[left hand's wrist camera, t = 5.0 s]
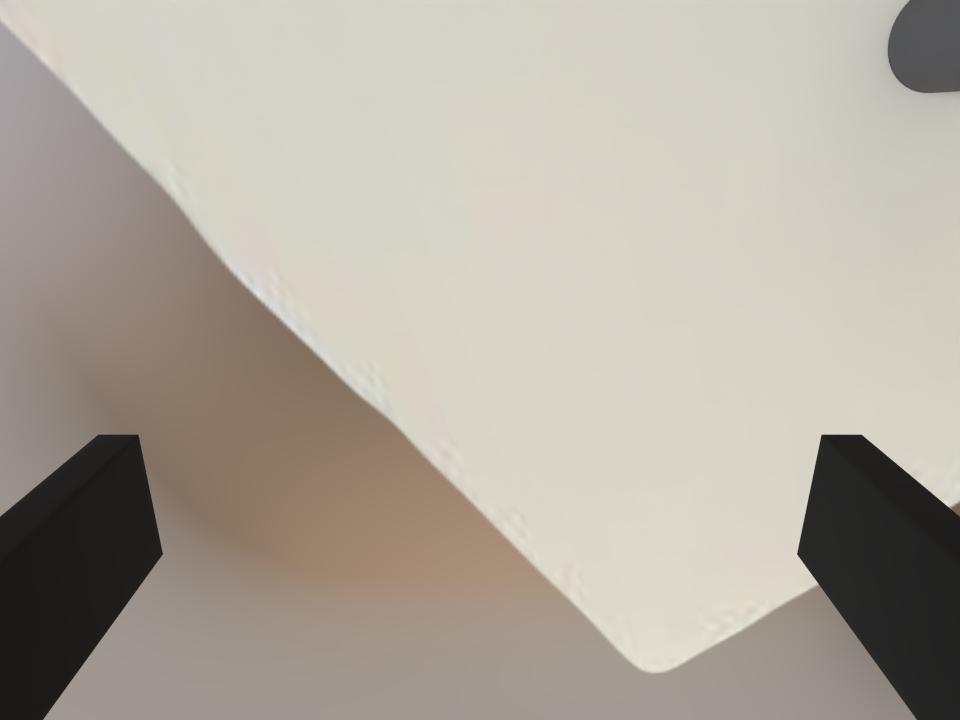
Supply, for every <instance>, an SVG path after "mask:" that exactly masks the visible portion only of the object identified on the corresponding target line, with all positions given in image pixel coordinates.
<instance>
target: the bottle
mask: <svg viewBox="0 0 960 720" xmlns="http://www.w3.org/2000/svg"><path fill="white" fill-rule="evenodd" d="M888 57H889V63H890V66H891V69H892V71H893V73H894V75H895V76H896V78H897V79H898V80H899V81H900V82H901V83H902V84H903V85H905V86H906V87H908V88H909V89H911V90H914V91H917V92H923V93H934V92H953V91H960V0H910V1H909V2H908V3H907V4H906V5H905V7H904V8H903V9H902V11H901V12H900V14H899V15H898V17H897V19H896V21H895V23H894V25H893V27H892V30H891V33H890V38H889V44H888Z"/></svg>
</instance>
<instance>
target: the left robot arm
mask: <svg viewBox="0 0 960 720" xmlns="http://www.w3.org/2000/svg"><path fill="white" fill-rule="evenodd" d="M162 555H163V553H162V548H161V543H160V538H159V533H158V528H157V523H156V519H155V514H154V509H153V504H152V499H151V494H150V489H149V484H148V480H147V475H146V470H145V465H144V460H143V455H142V450H141V445H140V440H139V436H138V435H98V436H96V437H95V438H94V439H93V440H92V441H90V442H89V443H88V444H87V445H86V446H84V447H83V448H82V449H81V450H80V451H78V452H77V453H76V454H75V455H74V456H72V457H71V458H70V459H69V460H68V461H66V462H65V463H64V464H63V465H62V466H60V467H59V468H58V469H57V470H56V471H54V472H53V473H52V474H51V475H50V476H48V477H47V478H46V479H45V480H44V481H42V482H41V483H40V484H39V485H38V486H36V487H35V488H34V489H33V490H32V491H30V492H29V493H28V494H27V495H26V496H25V497H23V498H22V499H21V500H20V501H18V502H17V503H16V504H15V505H14V506H12V507H11V508H10V509H9V510H8V511H7V512H5V513H4V514H3V515H2V516H1V517H0V720H43V719H44V718H45V716H46V715H47V713H48V712H49V711H50V709H51V708H52V706H53V705H54V704H55V702H56V701H57V700H58V698H59V697H60V695H61V694H62V693H63V691H64V690H65V689H66V687H67V686H68V684H69V683H70V682H71V680H72V679H73V678H74V676H75V675H76V673H77V672H78V671H79V669H80V668H81V666H82V665H83V664H84V662H85V661H86V660H87V658H88V657H89V655H90V654H91V653H92V651H93V650H94V649H95V647H96V646H97V644H98V643H99V642H100V640H101V639H102V637H103V636H104V635H105V633H106V632H107V631H108V629H109V628H110V626H111V625H112V624H113V622H114V621H115V620H116V618H117V617H118V615H119V614H120V613H121V611H122V610H123V608H124V607H125V606H126V604H127V603H128V602H129V600H130V599H131V597H132V596H133V595H134V593H135V592H136V591H137V589H138V588H139V586H140V585H141V584H142V582H143V581H144V579H145V578H146V577H147V575H148V574H149V572H150V571H151V570H152V568H153V567H154V566H155V564H156V563H157V561H158V560H159V559H160V557H161V556H162ZM797 555H798V556H799V557H800V559H801V560H802V562H803V563H804V564H805V566H806V567H807V568H808V570H809V571H810V573H811V574H812V575H813V577H814V578H815V579H816V581H817V582H818V584H819V585H820V586H821V588H822V589H823V591H824V592H825V593H826V595H827V596H828V597H829V599H830V600H831V602H832V603H833V604H834V606H835V607H836V608H837V610H838V611H839V613H840V614H841V615H842V617H843V618H844V620H845V621H846V622H847V624H848V625H849V626H850V628H851V629H852V631H853V632H854V633H855V635H856V636H857V637H858V639H859V640H860V642H861V643H862V644H863V646H864V647H865V649H866V650H867V651H868V653H869V654H870V655H871V657H872V658H873V660H874V661H875V662H876V664H877V665H878V666H879V668H880V669H881V671H882V672H883V673H884V675H885V676H886V678H887V679H888V680H889V682H890V683H891V684H892V686H893V687H894V689H895V690H896V691H897V693H898V694H899V695H900V697H901V698H902V700H903V701H904V702H905V704H906V705H907V706H908V708H909V709H910V711H911V712H912V713H913V715H914V716H915V718H916V719H917V720H960V517H959V516H958V515H957V514H956V513H955V512H953V511H952V510H951V509H950V508H949V507H948V506H946V505H945V504H944V503H943V502H942V501H940V500H939V499H938V498H937V497H936V496H934V495H933V494H932V493H931V492H930V491H928V490H927V489H926V488H925V487H924V486H922V485H921V484H920V483H919V482H918V481H916V480H915V479H914V478H913V477H912V476H910V475H909V474H908V473H907V472H906V471H904V470H903V469H902V468H901V467H900V466H898V465H897V464H896V463H895V462H894V461H892V460H891V459H890V458H889V457H888V456H886V455H885V454H884V453H883V452H882V451H880V450H879V449H878V448H877V447H876V446H874V445H873V444H872V443H871V442H870V441H868V440H867V439H866V438H865V437H864V436H862V435H822V436H821V440H820V445H819V450H818V455H817V460H816V465H815V470H814V475H813V479H812V484H811V489H810V494H809V499H808V504H807V509H806V514H805V519H804V523H803V528H802V533H801V538H800V543H799V548H798V553H797Z"/></svg>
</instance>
